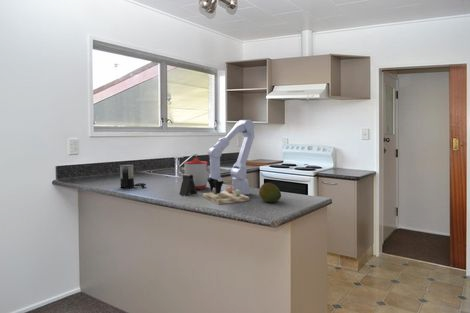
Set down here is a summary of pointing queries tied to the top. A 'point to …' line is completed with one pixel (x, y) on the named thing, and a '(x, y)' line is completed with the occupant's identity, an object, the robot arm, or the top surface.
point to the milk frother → (128, 177)
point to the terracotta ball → (229, 189)
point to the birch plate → (225, 197)
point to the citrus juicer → (198, 172)
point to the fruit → (269, 192)
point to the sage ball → (238, 192)
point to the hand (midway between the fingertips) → (215, 192)
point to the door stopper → (188, 185)
